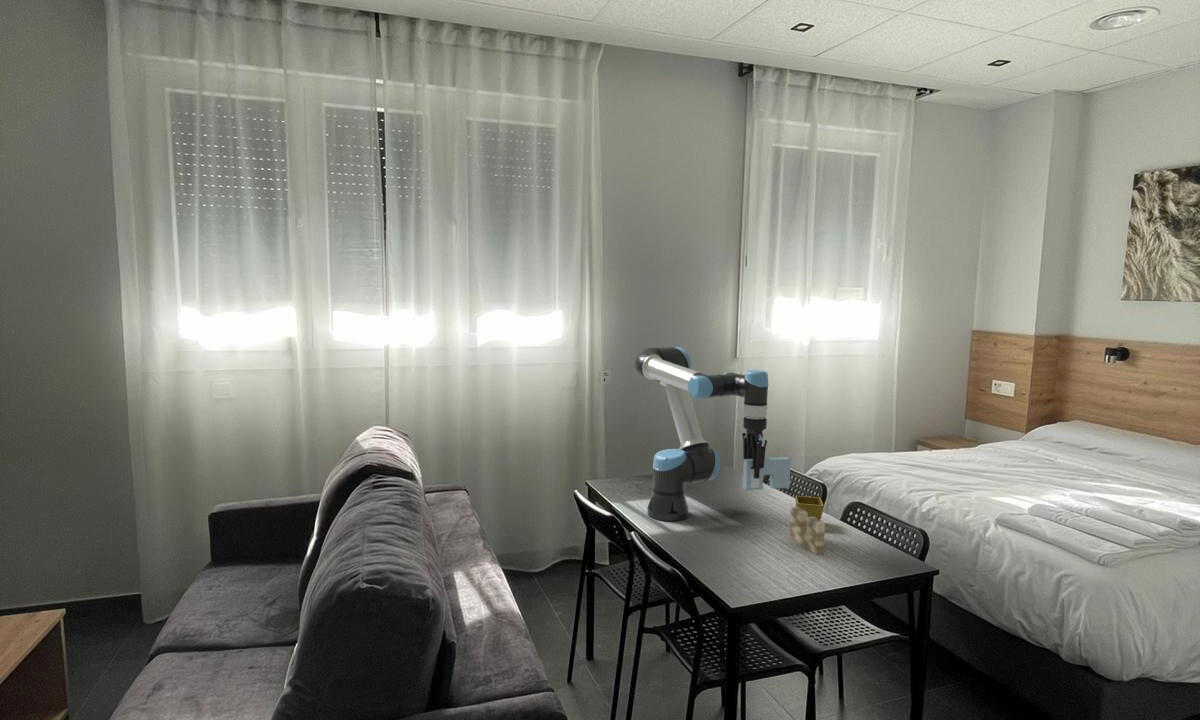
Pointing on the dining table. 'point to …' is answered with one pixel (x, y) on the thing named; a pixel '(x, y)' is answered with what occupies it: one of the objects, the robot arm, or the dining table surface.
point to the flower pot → (810, 505)
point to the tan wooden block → (807, 530)
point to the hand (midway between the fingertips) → (752, 485)
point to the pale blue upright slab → (772, 466)
